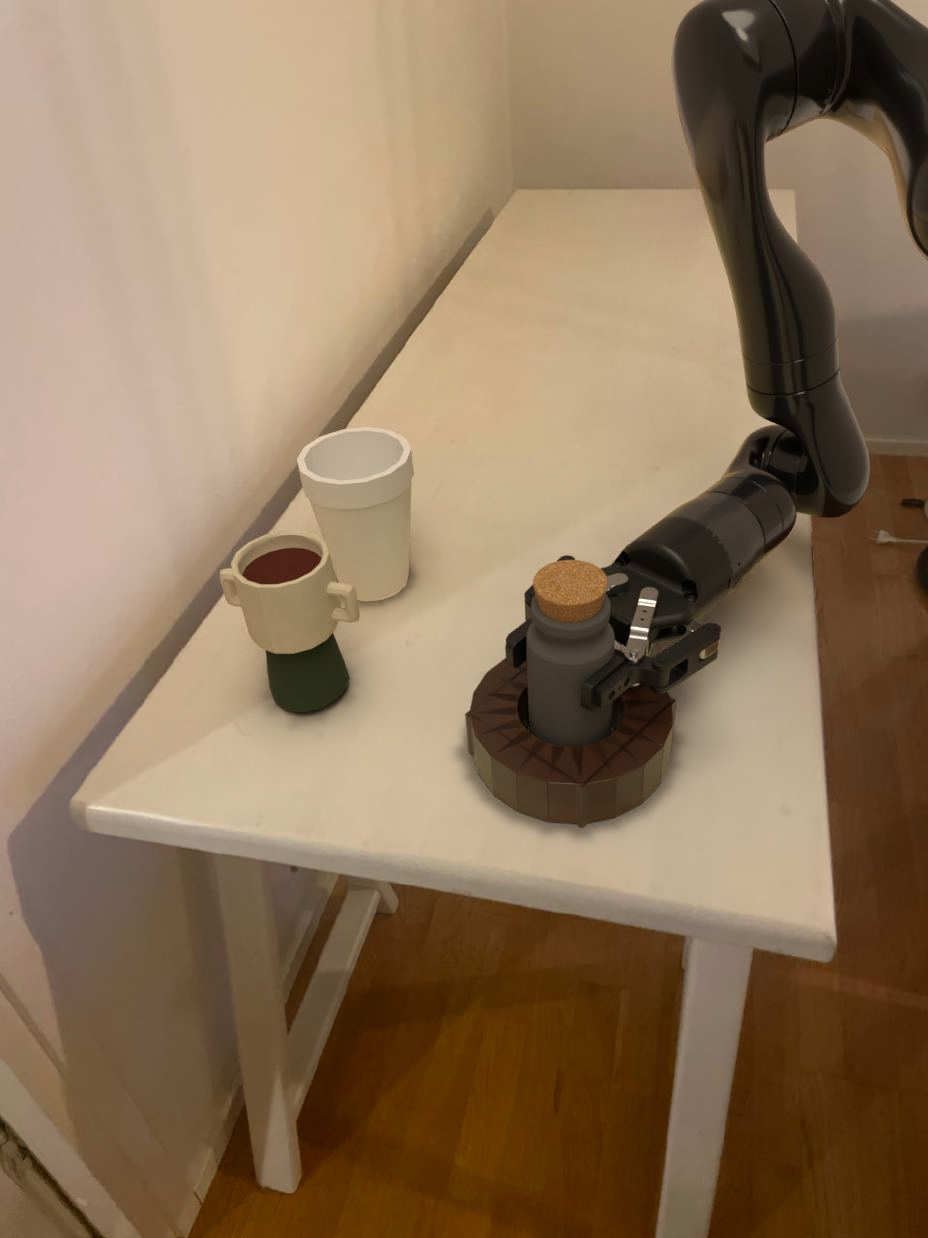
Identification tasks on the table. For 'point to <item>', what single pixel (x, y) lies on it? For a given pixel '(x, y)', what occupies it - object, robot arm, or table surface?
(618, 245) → the table surface
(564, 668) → the bottle
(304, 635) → the character mug
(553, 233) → the table surface
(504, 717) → the stand
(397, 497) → the foam cup
